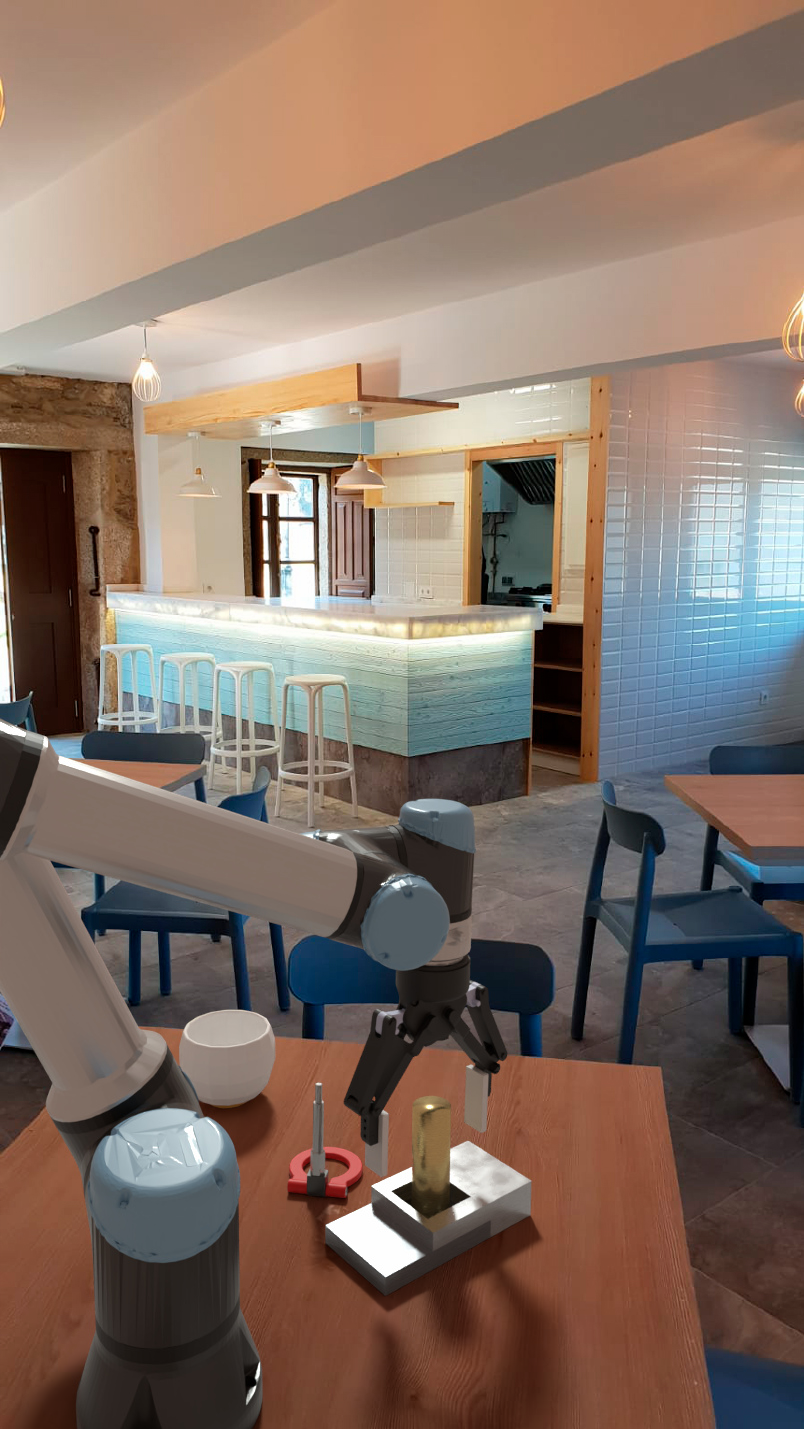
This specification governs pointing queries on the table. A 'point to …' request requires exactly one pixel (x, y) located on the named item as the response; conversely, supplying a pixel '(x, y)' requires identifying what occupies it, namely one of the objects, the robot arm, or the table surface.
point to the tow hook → (322, 1162)
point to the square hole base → (429, 1220)
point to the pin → (431, 1155)
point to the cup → (227, 1056)
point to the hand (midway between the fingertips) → (427, 1147)
